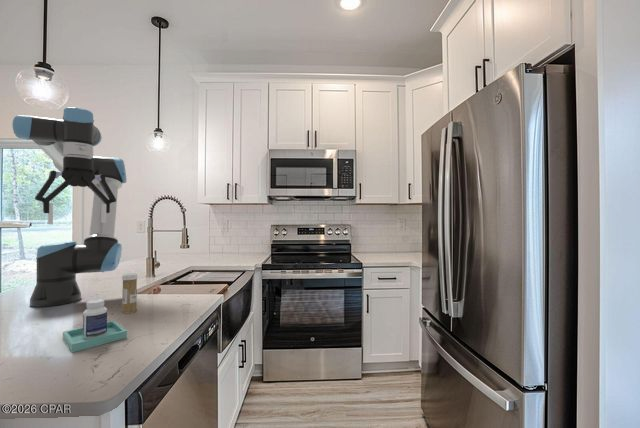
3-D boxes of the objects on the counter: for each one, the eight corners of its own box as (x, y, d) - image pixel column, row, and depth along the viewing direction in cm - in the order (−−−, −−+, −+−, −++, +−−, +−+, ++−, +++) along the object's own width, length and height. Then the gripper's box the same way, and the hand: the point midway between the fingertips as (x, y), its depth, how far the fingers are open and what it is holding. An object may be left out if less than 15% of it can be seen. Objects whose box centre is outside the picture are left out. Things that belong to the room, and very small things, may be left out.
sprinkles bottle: (137, 312, 105) (137, 274, 105) (121, 314, 102) (122, 275, 102) (136, 308, 109) (137, 272, 109) (121, 310, 106) (122, 273, 106)
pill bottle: (111, 333, 84) (112, 299, 84) (91, 341, 79) (92, 304, 79) (98, 331, 86) (98, 297, 86) (78, 338, 81) (78, 302, 81)
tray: (62, 339, 82) (62, 331, 82) (113, 326, 91) (114, 320, 91) (71, 352, 74) (71, 344, 74) (126, 337, 83) (126, 330, 83)
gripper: (25, 150, 83) (26, 225, 84) (126, 161, 102) (126, 223, 103) (22, 152, 88) (22, 224, 89) (119, 163, 107) (119, 221, 108)
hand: (78, 223), depth 96 cm, fingers open, 13 cm apart
